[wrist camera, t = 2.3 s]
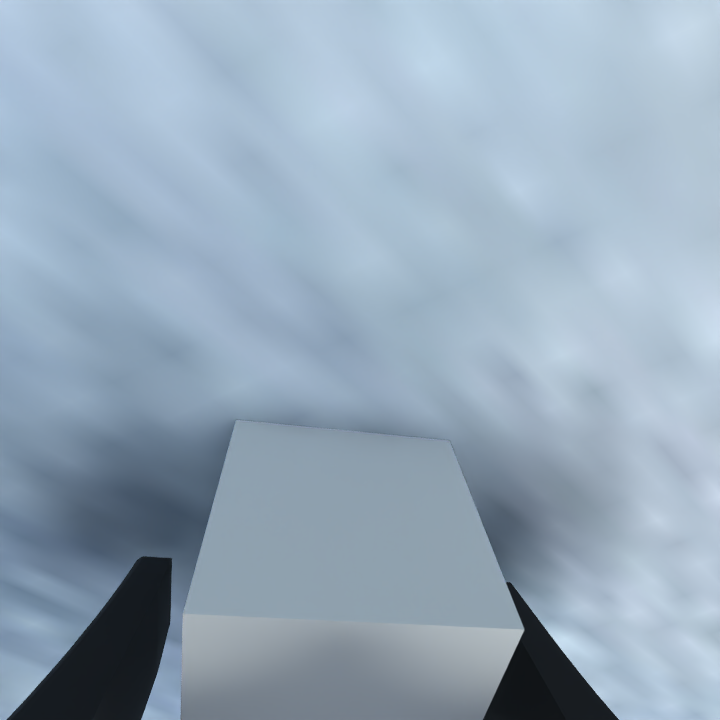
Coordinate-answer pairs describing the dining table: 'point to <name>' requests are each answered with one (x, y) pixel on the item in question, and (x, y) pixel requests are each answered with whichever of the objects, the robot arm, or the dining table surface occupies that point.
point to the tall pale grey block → (343, 584)
